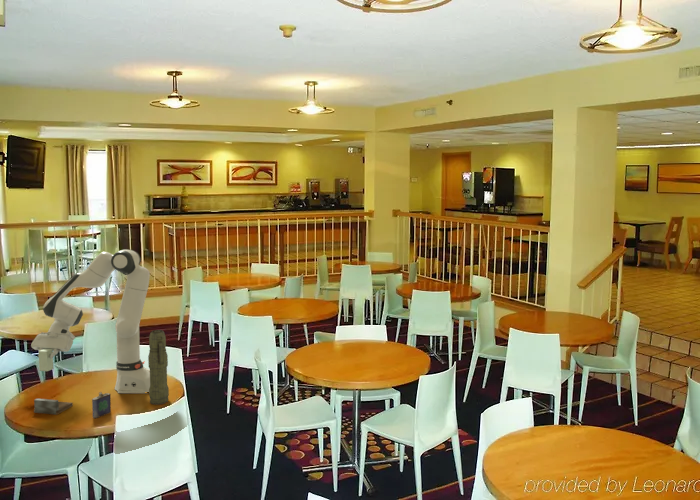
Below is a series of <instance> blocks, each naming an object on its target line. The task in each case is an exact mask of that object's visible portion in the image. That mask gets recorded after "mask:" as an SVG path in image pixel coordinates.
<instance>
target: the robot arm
mask: <svg viewBox="0 0 700 500" xmlns="http://www.w3.org/2000/svg"><path fill="white" fill-rule="evenodd" d="M141 258H142V257H141V256H140V253H139V252H137V251H136V250H133V249H121V250H119V251H116V252H115V253H113V254H112V252H111V253H110V252H108V251H102V252H100V253H99V254H98V255H96V256H95V258H94V259H93V260H92V261H91V262H90V264H89V265H88V266H87V268H86V269H85V270H83V271H80V272H76V273H75V274H73V275H72V276H71V277H70V278H69V279H68V280H67V281H66V282H64V284H63V285H62V286H61V287H60V288H59V289H58V290H57V291H56V292H55V293H54V294H53V295H52V296H51V297H50V298H48V299H47V300H46V301H45V303H44V304H43V306H42V311H43V313H44V315H45V316H47V317H49V318H53V319H54V321H53V322H52V323H51V325H50V327H49V329H48V331H47V332H41V333H38V334H37V335H36V336H35V338H34V339H33V340H32V342H31V345H30V347H31V348H32V349H34V350H35V351H38V352H39V351H40V350H43V349H53V352H52V353H51V354H49V356H48V357H49V358H53V359H54V356H56V355H57V354H58V353H59V352H67V353H68V352H69V351H71V348H72V346H73V343H74V340H75V339H76V335H74V334H73V333H72V332H71V331H70V328H71V327H75V326H78V325H79V324H80V321H81V320H82V318H83V316H84V313H83V310H82V308H80V307H78V306H76V305H74V304H72V303H69V302H67V301H66V300H63V299H64V298H65V297H66V296H67V295H68V294H69V293H70V292H71V291H72V290H73V289H74V288H87V289H97V288H100V287H102V286H103V285H104V284H105V283H106V282H107V280H108V279H109V277H110V276H111V275H112V273H113V272H114V271H115V270H116V271H118V272H119V273H121V274H122V275H124V276H126V281H125V286H124V290H123V294H122V298H121V302H120V306H119V310H118V315H117V317H116V322H115V328H114V329H115V332H116V362H115V365H116V367H115V368H116V380H115V381H116V382H115V386H114V390H115V391H116V392H117V394H146V393H145V392H149V388H150V370H149V369H147V368H145V367H144V364H145V363H146V361H145V360H144V361H142V360H141V351H140V349H141V348H140V324H141V323H140V322H141V318H142V315H143V311H144V308H145V301H146V298H147V293H148V290H149V285H150V275H151V274H150V270H149V269H148V268H146V267H145V266H141V265H140V264H141V260H142V259H141ZM37 358H39V354H37Z"/></svg>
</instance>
